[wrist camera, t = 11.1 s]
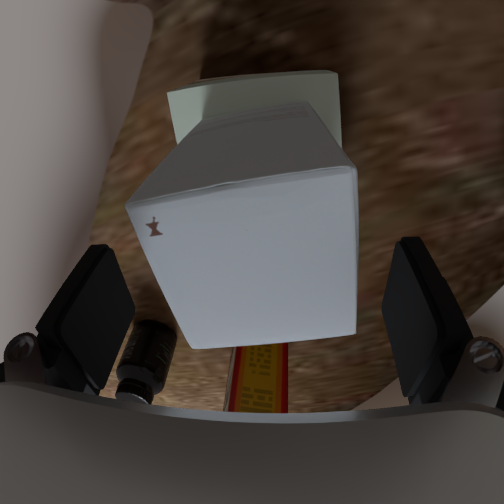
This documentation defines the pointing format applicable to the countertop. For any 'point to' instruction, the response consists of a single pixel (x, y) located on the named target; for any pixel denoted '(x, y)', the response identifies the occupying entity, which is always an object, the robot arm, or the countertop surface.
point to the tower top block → (256, 97)
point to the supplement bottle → (145, 362)
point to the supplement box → (254, 229)
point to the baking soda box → (258, 379)
